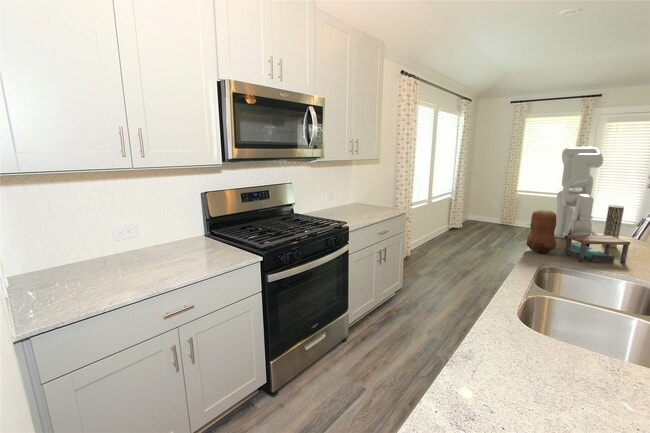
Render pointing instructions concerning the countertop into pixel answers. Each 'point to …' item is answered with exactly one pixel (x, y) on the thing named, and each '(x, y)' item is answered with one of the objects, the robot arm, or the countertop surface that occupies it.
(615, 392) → the countertop surface
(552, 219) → the butternut squash
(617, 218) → the brown bark cylinder
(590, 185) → the robot arm
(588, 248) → the teal u-channel piece
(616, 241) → the small wooden table
